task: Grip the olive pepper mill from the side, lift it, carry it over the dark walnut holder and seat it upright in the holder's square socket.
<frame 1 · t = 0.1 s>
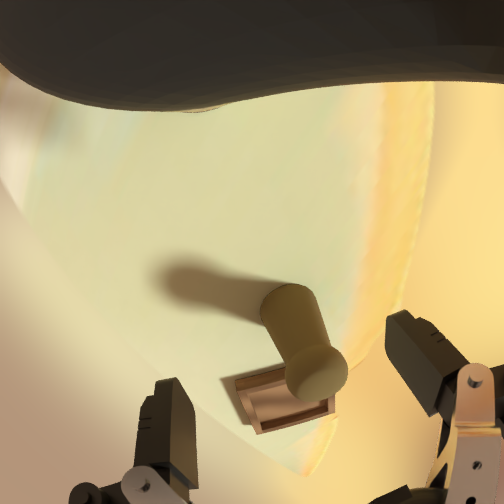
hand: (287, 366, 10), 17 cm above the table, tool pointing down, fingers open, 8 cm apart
holder: (288, 394, 38), on the table
olive pepper mill: (288, 307, 31), on the table
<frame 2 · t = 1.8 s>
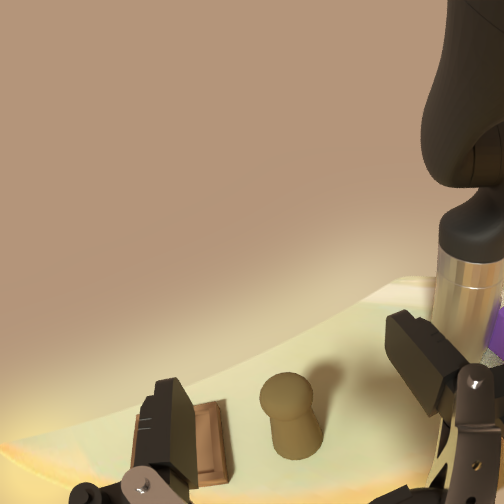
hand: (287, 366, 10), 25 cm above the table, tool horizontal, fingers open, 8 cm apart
holder: (179, 450, 32), on the table
olive pepper mill: (298, 439, 31), on the table
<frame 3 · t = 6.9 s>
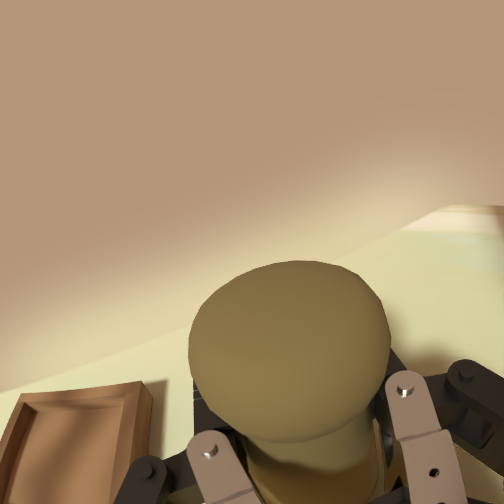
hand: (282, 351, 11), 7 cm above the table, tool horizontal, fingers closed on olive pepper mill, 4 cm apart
holder: (67, 469, 13), on the table
olive pepper mill: (316, 476, 11), on the table, touching gripper
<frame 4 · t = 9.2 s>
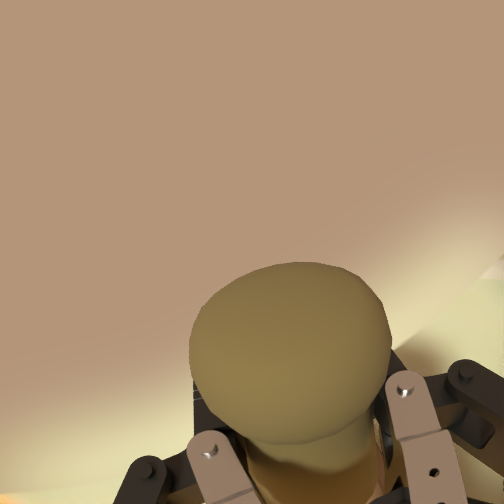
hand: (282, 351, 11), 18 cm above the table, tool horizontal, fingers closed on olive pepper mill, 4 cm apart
olive pepper mill: (316, 477, 11), point 11 cm above the table, touching gripper
when the fingers open (8 cm above the table, at t = 12.0 s): olive pepper mill moves 2 cm, resting in holder.
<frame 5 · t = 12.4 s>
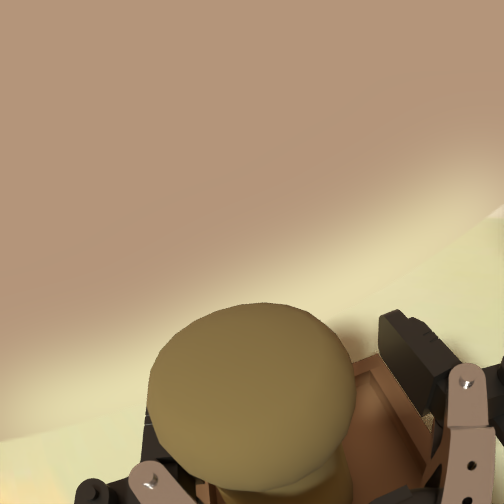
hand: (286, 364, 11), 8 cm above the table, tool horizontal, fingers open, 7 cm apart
holder: (314, 482, 12), on the table
olive pepper mill: (291, 496, 11), resting on holder, touching gripper
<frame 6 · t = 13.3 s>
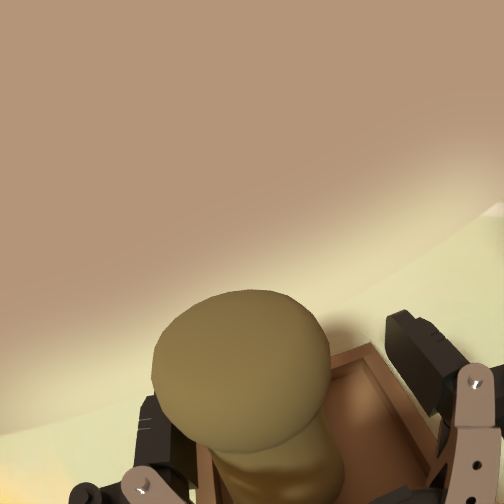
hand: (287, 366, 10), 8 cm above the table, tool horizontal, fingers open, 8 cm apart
holder: (312, 462, 13), on the table
olive pepper mill: (286, 478, 12), resting on holder
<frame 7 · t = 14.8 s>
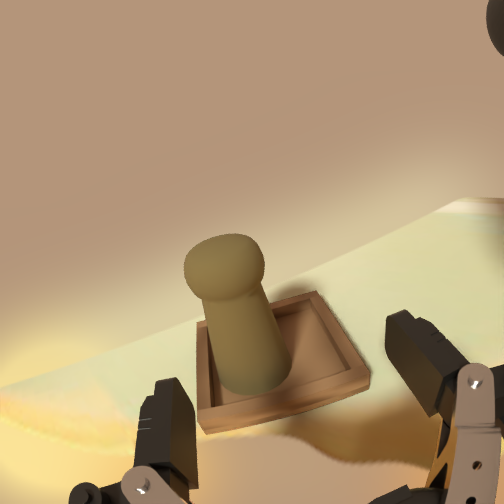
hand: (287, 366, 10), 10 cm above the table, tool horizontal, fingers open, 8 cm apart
holder: (272, 361, 24), on the table
olive pepper mill: (255, 368, 23), resting on holder
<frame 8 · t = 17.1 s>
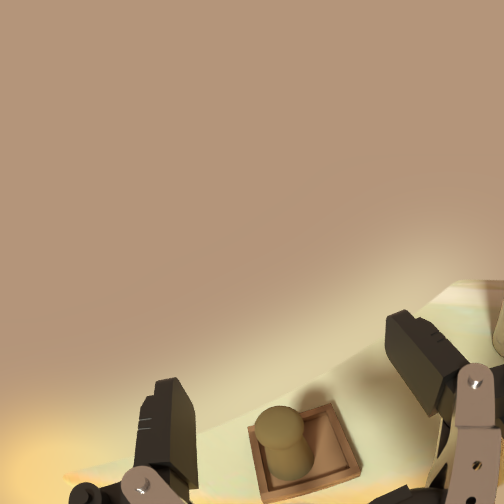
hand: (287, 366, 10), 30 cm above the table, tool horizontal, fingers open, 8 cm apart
holder: (301, 455, 33), on the table
olive pepper mill: (291, 461, 32), resting on holder
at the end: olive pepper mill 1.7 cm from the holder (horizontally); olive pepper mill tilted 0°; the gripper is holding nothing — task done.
